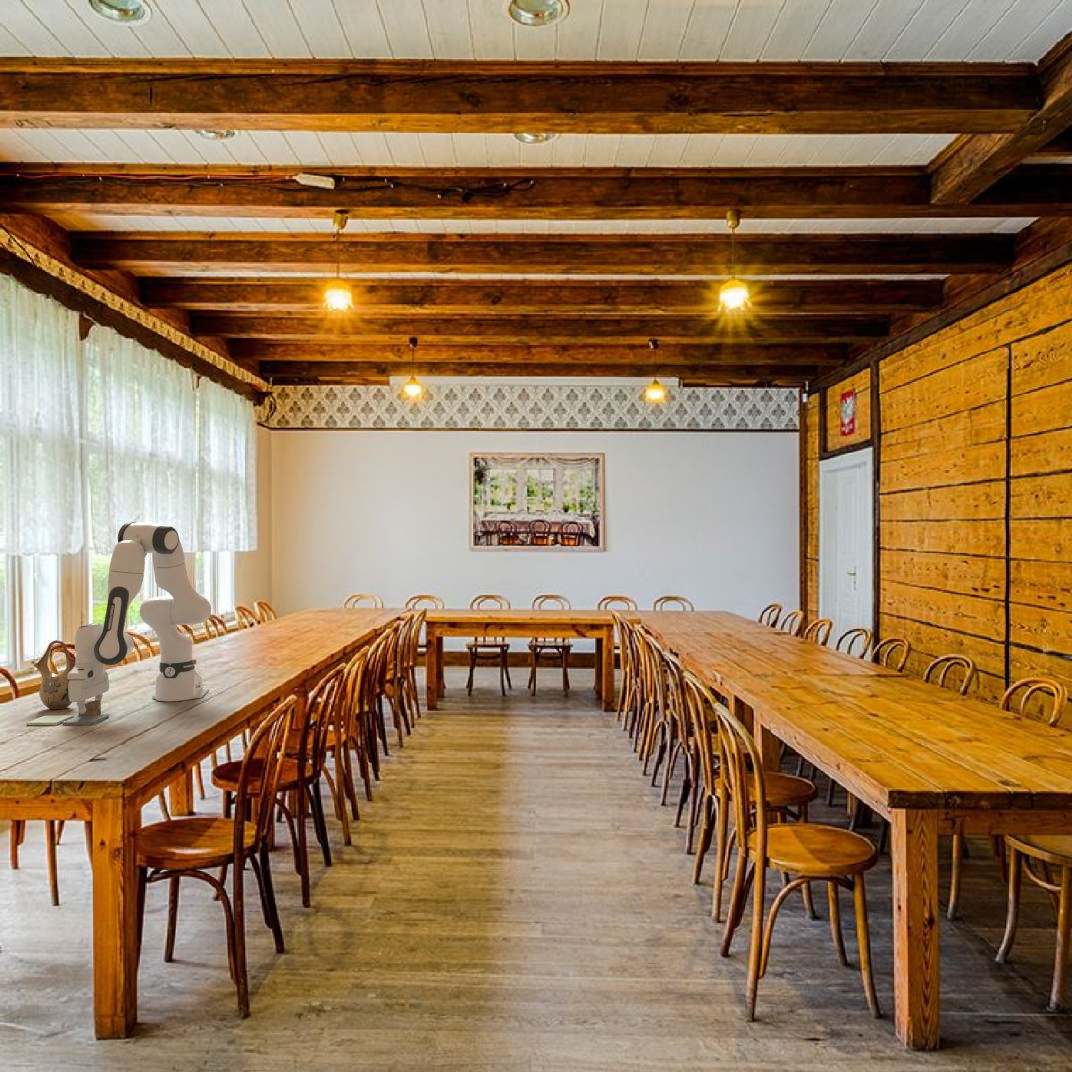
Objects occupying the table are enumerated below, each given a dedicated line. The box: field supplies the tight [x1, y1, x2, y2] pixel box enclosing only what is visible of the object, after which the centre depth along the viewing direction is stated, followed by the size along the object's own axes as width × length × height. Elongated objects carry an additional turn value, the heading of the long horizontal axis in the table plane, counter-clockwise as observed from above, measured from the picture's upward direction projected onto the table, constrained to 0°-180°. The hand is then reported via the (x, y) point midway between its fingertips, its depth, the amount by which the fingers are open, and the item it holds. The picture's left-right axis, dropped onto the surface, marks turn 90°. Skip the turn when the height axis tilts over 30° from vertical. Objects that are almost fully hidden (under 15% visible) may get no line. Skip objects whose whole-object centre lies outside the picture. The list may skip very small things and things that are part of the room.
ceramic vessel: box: [33, 639, 76, 710], centre depth 291 cm, size 16×9×25 cm, turn 94°
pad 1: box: [25, 714, 75, 726], centre depth 271 cm, size 10×10×1 cm
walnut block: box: [77, 700, 102, 716], centre depth 279 cm, size 5×5×5 cm
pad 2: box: [62, 714, 110, 726], centre depth 271 cm, size 10×10×1 cm
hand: (90, 710), depth 279 cm, fingers open, 8 cm apart
